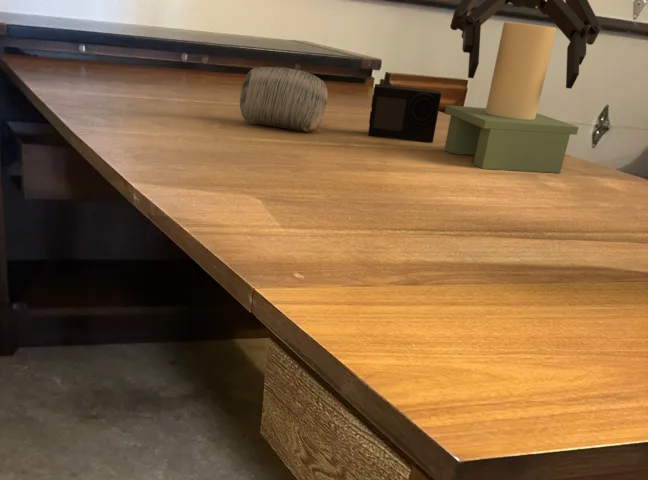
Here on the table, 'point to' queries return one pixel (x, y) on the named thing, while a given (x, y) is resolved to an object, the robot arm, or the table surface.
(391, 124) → the digital camera
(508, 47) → the tan upright cylinder
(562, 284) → the table surface
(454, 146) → the stand
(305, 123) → the grey yarn skein
